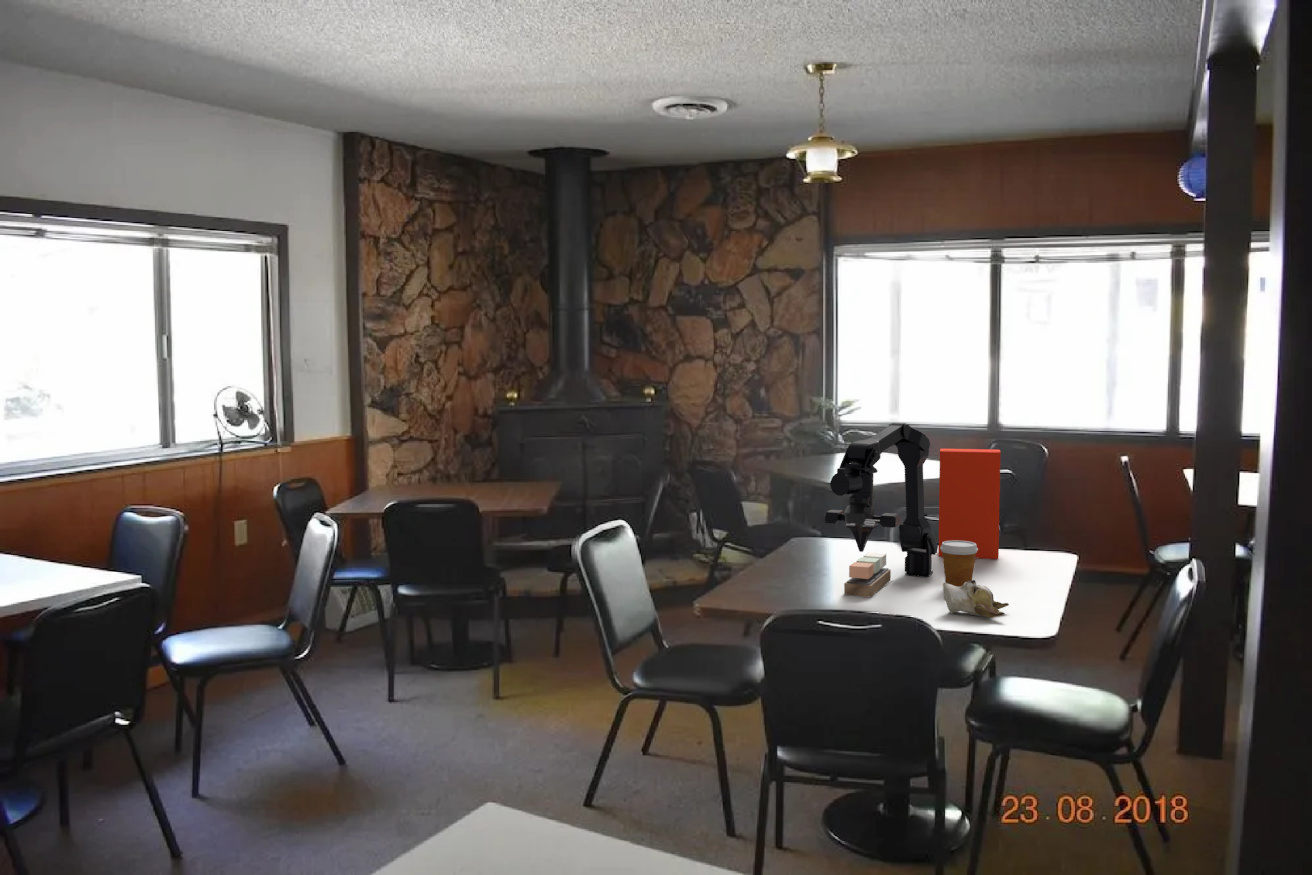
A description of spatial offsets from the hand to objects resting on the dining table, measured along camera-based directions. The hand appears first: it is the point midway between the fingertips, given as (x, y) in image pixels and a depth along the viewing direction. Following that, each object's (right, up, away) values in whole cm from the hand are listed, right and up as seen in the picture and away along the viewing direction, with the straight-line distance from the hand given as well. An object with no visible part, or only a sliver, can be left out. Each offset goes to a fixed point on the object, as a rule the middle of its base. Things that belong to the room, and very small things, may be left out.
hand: (861, 551), depth 278 cm
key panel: (+3, -10, +7) cm, 13 cm away
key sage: (+3, -6, +7) cm, 10 cm away
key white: (+6, -5, +13) cm, 15 cm away
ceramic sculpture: (+23, -13, -21) cm, 34 cm away
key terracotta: (0, -6, +1) cm, 6 cm away
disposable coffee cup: (+26, -11, +5) cm, 29 cm away
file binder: (+41, -6, +48) cm, 63 cm away
